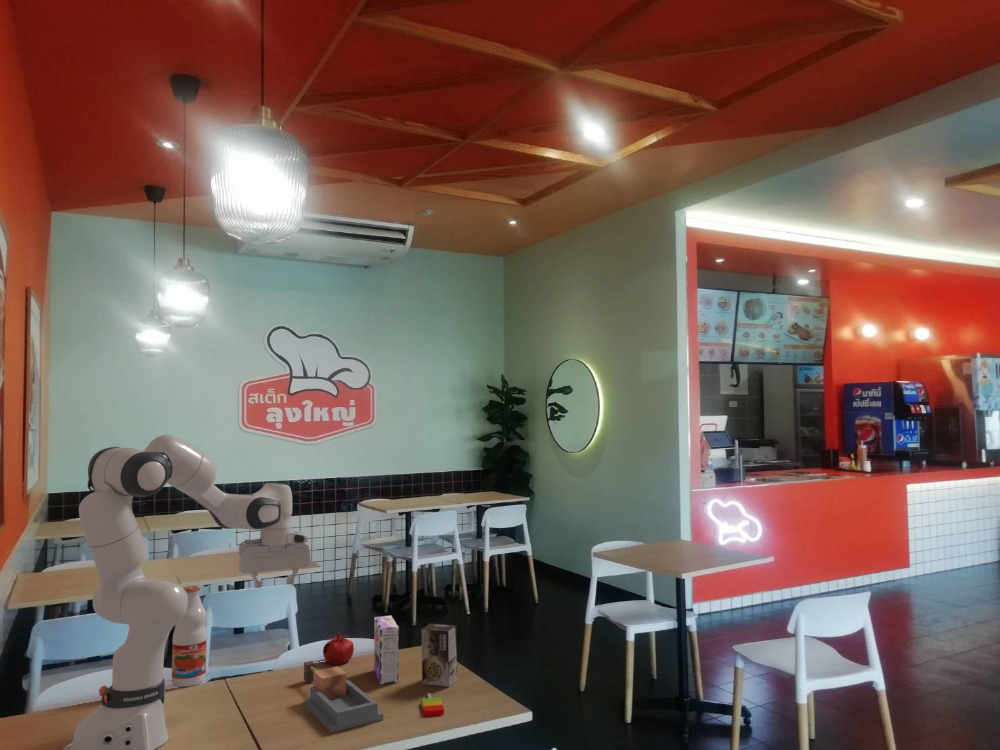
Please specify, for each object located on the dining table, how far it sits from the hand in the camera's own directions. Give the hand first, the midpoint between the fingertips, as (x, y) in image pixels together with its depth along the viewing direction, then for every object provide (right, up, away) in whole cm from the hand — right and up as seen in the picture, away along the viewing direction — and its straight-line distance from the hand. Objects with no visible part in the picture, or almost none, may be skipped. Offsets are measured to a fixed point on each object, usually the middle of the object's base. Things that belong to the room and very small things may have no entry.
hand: (274, 585), depth 202 cm
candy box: (+31, -31, +9) cm, 45 cm away
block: (+14, -29, -3) cm, 33 cm away
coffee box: (+48, -30, +4) cm, 57 cm away
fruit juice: (-28, -31, +6) cm, 42 cm away
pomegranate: (+13, -32, +24) cm, 42 cm away
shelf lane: (+24, -28, -18) cm, 41 cm away
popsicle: (+47, -29, -14) cm, 57 cm away
